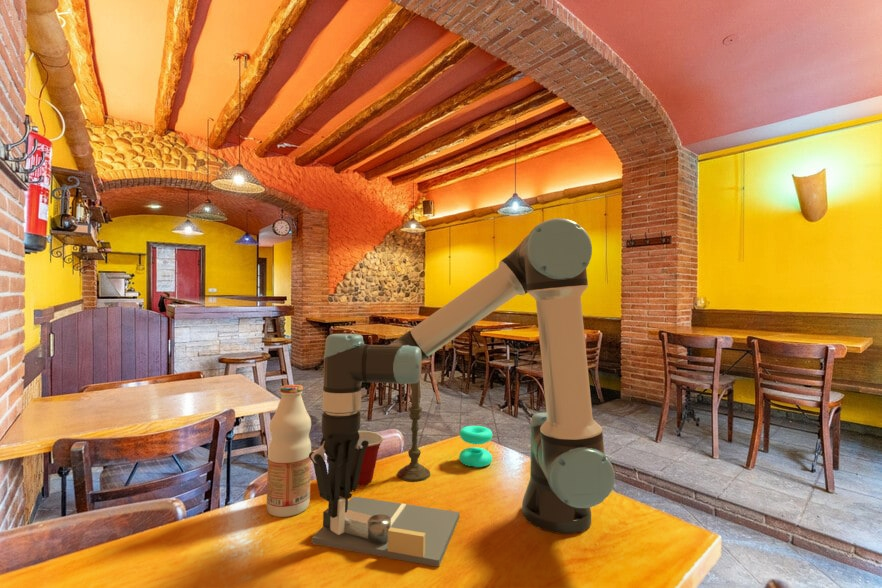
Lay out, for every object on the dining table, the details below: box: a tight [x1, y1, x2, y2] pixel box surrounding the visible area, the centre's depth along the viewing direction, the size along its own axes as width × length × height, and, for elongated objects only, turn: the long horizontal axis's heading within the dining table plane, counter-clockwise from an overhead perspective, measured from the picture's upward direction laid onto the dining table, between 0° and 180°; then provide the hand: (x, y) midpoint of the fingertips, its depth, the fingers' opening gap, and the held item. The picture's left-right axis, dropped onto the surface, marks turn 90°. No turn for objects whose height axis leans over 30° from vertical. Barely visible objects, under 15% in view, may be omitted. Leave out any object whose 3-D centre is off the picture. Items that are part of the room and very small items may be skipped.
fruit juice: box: [266, 384, 312, 518], centre depth 95 cm, size 9×9×28 cm
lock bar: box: [322, 508, 391, 543], centre depth 82 cm, size 14×4×3 cm, turn 68°
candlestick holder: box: [397, 379, 431, 482], centre depth 115 cm, size 9×9×30 cm
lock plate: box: [311, 496, 460, 568], centre depth 86 cm, size 26×18×5 cm
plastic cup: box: [357, 430, 384, 486], centre depth 110 cm, size 11×11×12 cm
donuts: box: [458, 425, 493, 468], centre depth 124 cm, size 10×10×10 cm
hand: (337, 530), depth 81 cm, fingers closed
